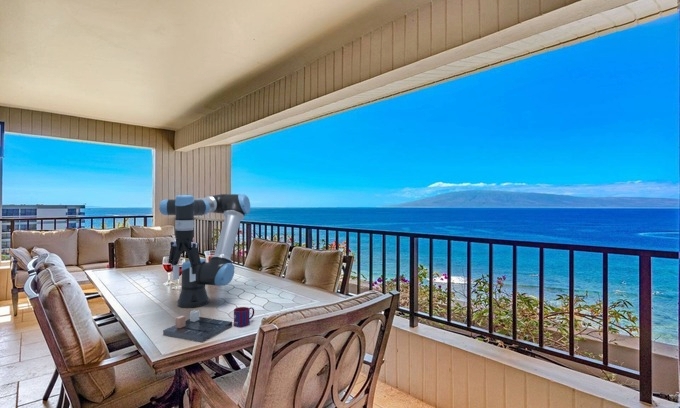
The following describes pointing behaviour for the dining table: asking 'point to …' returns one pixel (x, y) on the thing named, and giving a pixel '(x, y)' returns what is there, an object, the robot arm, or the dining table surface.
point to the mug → (242, 316)
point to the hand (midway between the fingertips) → (184, 280)
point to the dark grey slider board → (198, 329)
